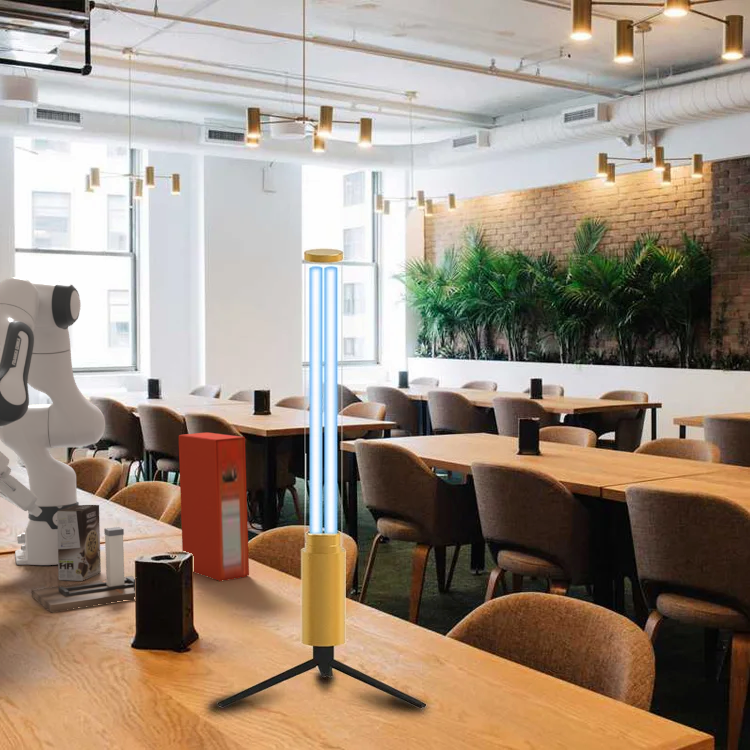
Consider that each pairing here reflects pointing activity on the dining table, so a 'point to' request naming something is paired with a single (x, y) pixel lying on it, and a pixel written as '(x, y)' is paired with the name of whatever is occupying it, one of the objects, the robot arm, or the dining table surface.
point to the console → (84, 594)
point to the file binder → (214, 504)
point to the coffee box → (78, 542)
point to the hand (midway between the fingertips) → (38, 513)
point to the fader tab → (114, 556)
